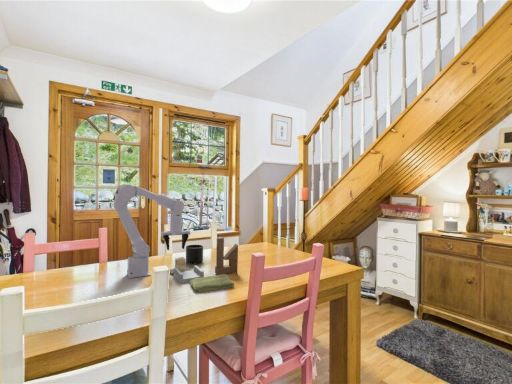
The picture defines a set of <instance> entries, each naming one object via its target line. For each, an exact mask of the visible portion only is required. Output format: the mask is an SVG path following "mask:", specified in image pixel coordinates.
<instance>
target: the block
mask: <svg viewBox="0 0 512 384" xmlns="http://www.w3.org/2000/svg"><path fill="white" fill-rule="evenodd" d="M174 260H175V261H174V262H175V263H174V268H177V269H178V270H179V271H180V272H181V271H185V267H186V257H175V259H174Z"/></svg>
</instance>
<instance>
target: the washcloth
mask: <svg viewBox="0 0 512 384" xmlns="http://www.w3.org/2000/svg"><path fill="white" fill-rule="evenodd" d="M189 283H190V285H191V287H192V289H194V291H196V292H198V293H205V292H212V291H219V290H224V289H231V288H234V286H235V282H234V281H233V280H231V279H230V278H229V276H228V274H220V275H217V274H216V275H208V276H204V277H201V278H195V279H193V280H191V281H190V282H189Z"/></svg>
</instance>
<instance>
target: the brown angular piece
mask: <svg viewBox="0 0 512 384" xmlns="http://www.w3.org/2000/svg"><path fill="white" fill-rule="evenodd" d="M238 258H239V245H238V244H237V243H234V245H233V246H231V248H230V249H229V250H228V251H227V253H225V237H223V236H219V237H217V238H216V259H215V260H216V262H215V264H216V265H215V267H214V273H215V274H216V275H220V274H225V275H230V274H231V275H232V274H237V273H238V266H239V265H238V264H239V263H238ZM224 261H228V265H226V264H225V265H224V263H225V262H224Z"/></svg>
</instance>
